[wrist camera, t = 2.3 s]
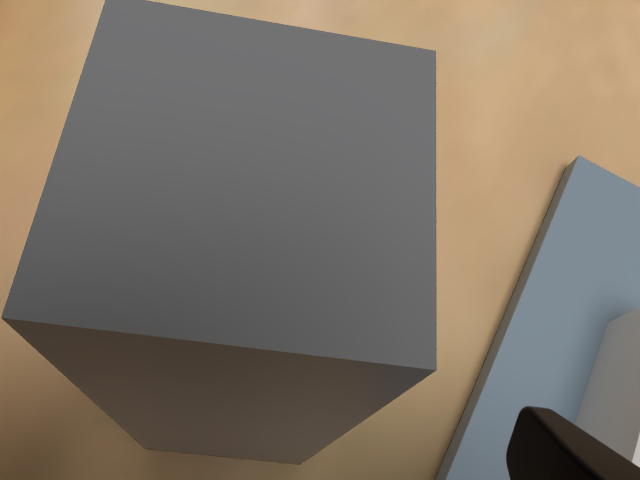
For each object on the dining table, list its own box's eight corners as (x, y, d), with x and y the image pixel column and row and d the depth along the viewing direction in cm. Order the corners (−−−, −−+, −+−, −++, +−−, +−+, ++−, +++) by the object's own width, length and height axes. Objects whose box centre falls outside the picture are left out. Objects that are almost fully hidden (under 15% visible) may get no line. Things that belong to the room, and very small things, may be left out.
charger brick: (299, 464, 18) (436, 370, 6) (145, 448, 17) (1, 318, 6) (313, 318, 20) (435, 50, 8) (174, 301, 19) (107, -6, 8)
